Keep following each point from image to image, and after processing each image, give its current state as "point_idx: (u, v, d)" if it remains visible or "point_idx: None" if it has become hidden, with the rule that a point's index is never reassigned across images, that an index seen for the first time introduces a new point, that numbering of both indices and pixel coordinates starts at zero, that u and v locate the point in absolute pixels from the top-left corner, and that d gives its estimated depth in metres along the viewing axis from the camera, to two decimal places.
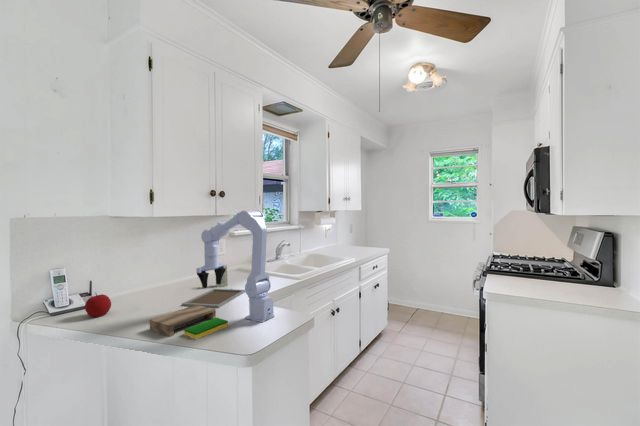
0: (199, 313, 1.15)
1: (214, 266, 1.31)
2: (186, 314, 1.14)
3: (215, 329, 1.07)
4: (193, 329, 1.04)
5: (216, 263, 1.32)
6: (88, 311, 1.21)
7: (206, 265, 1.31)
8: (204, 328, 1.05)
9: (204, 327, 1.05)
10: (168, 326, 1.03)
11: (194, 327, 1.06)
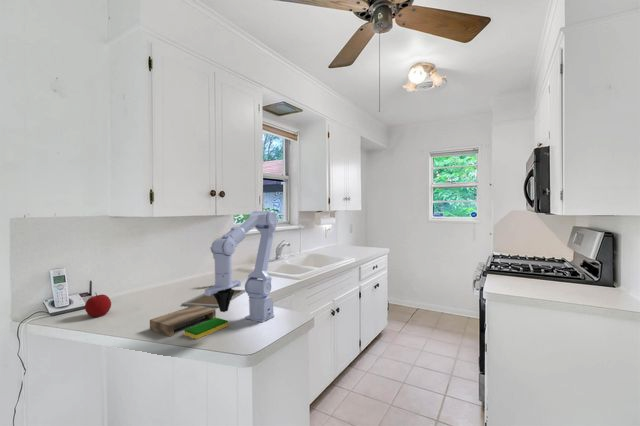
0: (199, 313, 1.15)
1: (227, 286, 1.01)
2: (186, 314, 1.14)
3: (215, 329, 1.07)
4: (193, 329, 1.04)
5: (230, 282, 1.03)
6: (88, 311, 1.21)
7: (217, 285, 1.01)
8: (204, 328, 1.05)
9: (204, 327, 1.05)
10: (168, 326, 1.03)
11: (194, 327, 1.05)
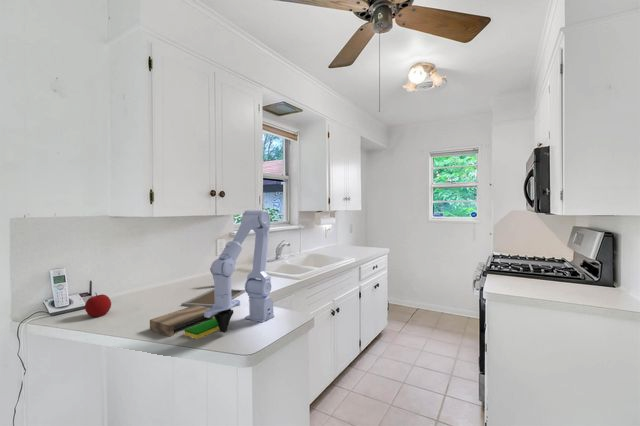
0: (199, 313, 1.15)
1: (227, 307, 1.02)
2: (186, 314, 1.14)
3: (215, 329, 1.07)
4: (193, 329, 1.04)
5: (229, 303, 1.03)
6: (88, 311, 1.21)
7: (217, 306, 1.01)
8: (204, 328, 1.05)
9: (204, 327, 1.05)
10: (168, 326, 1.03)
11: (194, 327, 1.05)
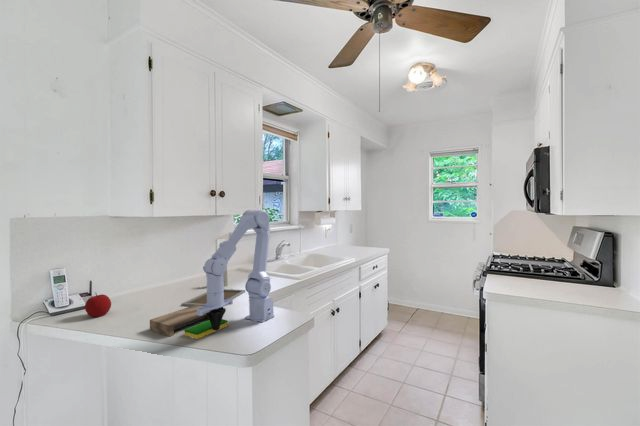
0: None
1: (219, 305, 1.04)
2: (186, 314, 1.14)
3: None
4: (193, 329, 1.04)
5: (221, 301, 1.05)
6: (88, 311, 1.21)
7: (209, 304, 1.03)
8: (205, 328, 1.05)
9: (204, 327, 1.05)
10: (168, 326, 1.03)
11: (194, 327, 1.05)
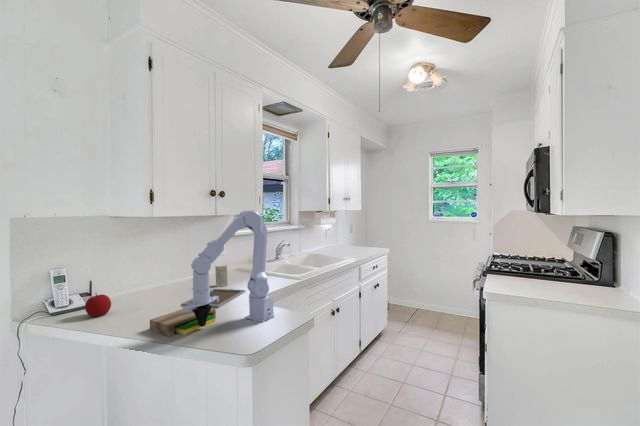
0: None
1: (205, 302, 1.07)
2: (186, 314, 1.14)
3: None
4: (181, 325, 1.08)
5: (207, 298, 1.08)
6: (88, 311, 1.21)
7: (195, 301, 1.07)
8: (192, 323, 1.09)
9: (192, 323, 1.10)
10: (168, 326, 1.03)
11: (182, 323, 1.09)
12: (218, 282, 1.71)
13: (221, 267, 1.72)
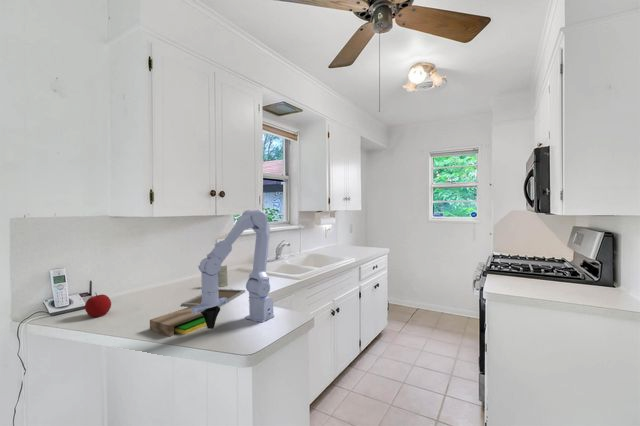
0: (199, 313, 1.15)
1: (214, 304, 1.05)
2: (186, 314, 1.14)
3: (203, 325, 1.11)
4: (181, 325, 1.08)
5: (216, 300, 1.06)
6: (88, 311, 1.21)
7: (204, 303, 1.05)
8: (192, 324, 1.09)
9: (192, 323, 1.09)
10: (168, 326, 1.03)
11: (182, 323, 1.09)
12: (218, 282, 1.71)
13: (221, 267, 1.72)
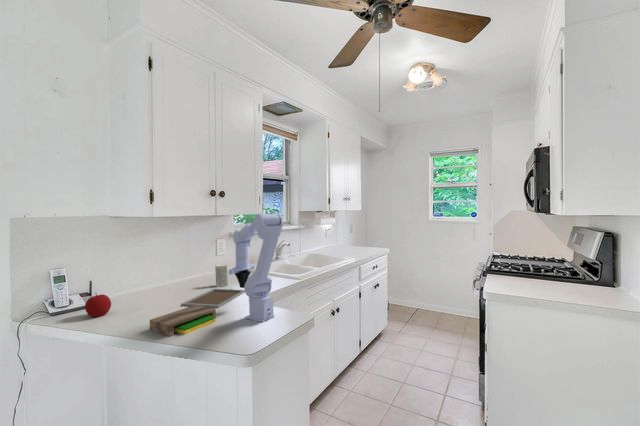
0: (199, 313, 1.15)
1: (246, 267, 1.30)
2: (186, 314, 1.14)
3: (203, 325, 1.11)
4: (181, 325, 1.08)
5: (247, 264, 1.31)
6: (88, 311, 1.21)
7: (238, 266, 1.30)
8: (192, 324, 1.09)
9: (192, 323, 1.09)
10: (168, 326, 1.03)
11: (182, 323, 1.09)
12: (218, 282, 1.71)
13: (221, 267, 1.72)
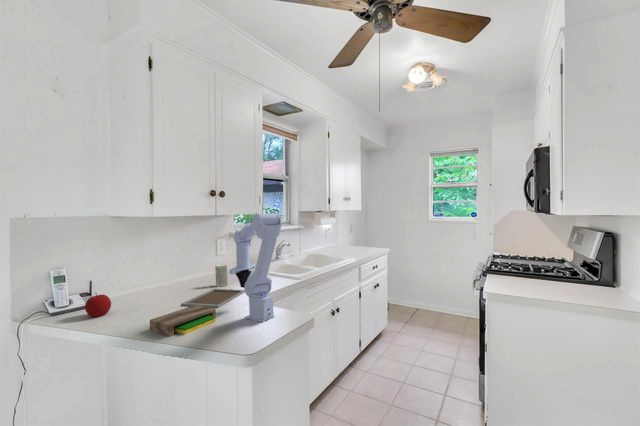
0: (199, 313, 1.15)
1: (246, 267, 1.31)
2: (186, 314, 1.14)
3: (203, 325, 1.11)
4: (181, 325, 1.08)
5: (248, 264, 1.32)
6: (88, 311, 1.21)
7: (238, 266, 1.30)
8: (192, 324, 1.09)
9: (192, 323, 1.09)
10: (168, 326, 1.03)
11: (182, 323, 1.09)
12: (218, 282, 1.71)
13: (221, 267, 1.72)
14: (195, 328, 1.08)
